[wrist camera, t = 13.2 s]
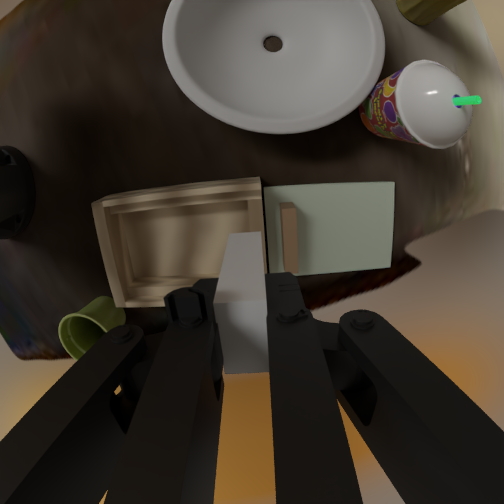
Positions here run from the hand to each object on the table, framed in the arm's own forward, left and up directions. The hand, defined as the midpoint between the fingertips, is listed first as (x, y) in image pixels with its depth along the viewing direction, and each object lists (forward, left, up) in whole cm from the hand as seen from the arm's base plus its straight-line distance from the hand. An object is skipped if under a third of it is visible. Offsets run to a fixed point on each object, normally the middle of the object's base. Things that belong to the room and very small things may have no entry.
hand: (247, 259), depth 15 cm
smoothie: (+17, +9, -25) cm, 31 cm away
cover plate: (+10, -6, -25) cm, 28 cm away
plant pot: (-24, -17, -25) cm, 38 cm away
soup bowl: (+4, +18, -25) cm, 31 cm away
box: (-9, -6, -24) cm, 27 cm away
